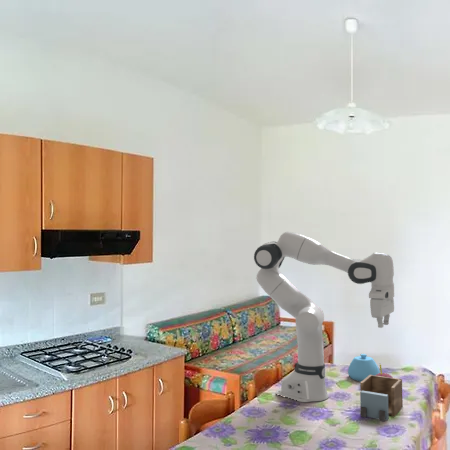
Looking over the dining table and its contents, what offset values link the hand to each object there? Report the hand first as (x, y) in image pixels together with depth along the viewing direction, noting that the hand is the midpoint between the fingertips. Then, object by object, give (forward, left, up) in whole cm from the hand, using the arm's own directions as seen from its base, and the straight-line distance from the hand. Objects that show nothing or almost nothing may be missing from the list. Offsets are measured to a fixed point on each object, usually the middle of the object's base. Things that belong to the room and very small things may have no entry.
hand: (383, 326), depth 197 cm
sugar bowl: (-19, +34, -33) cm, 51 cm away
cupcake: (-6, +21, -32) cm, 39 cm away
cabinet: (0, -8, -32) cm, 33 cm away
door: (0, -15, -32) cm, 36 cm away
